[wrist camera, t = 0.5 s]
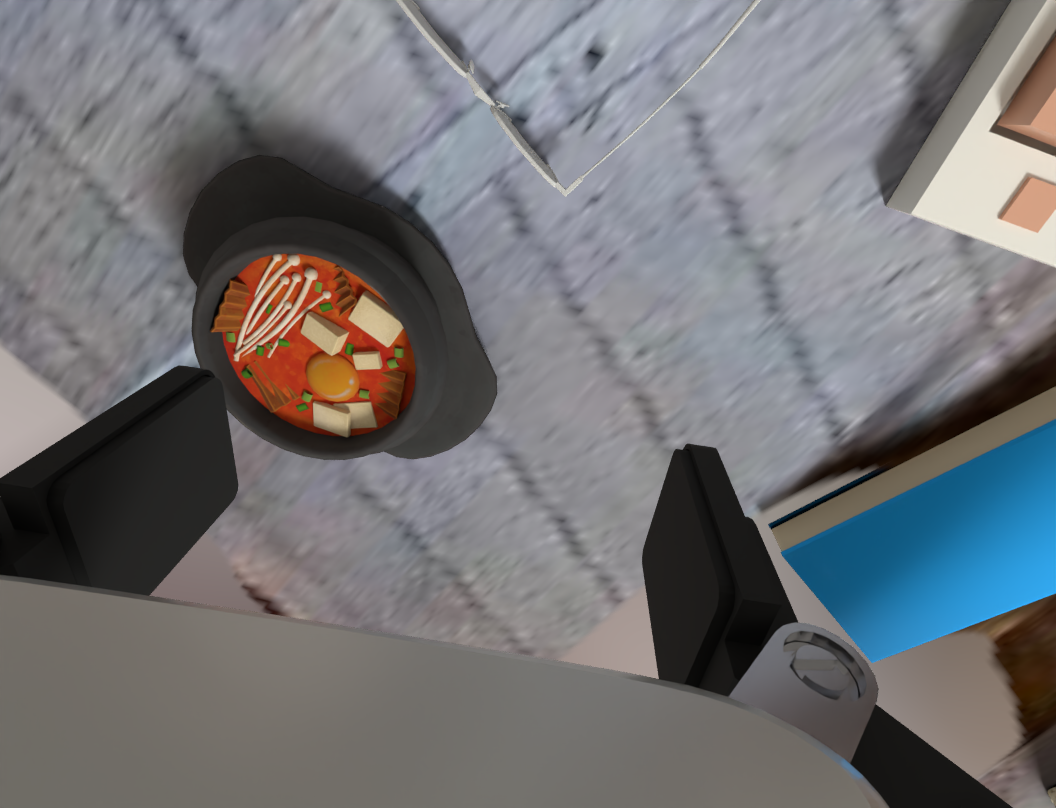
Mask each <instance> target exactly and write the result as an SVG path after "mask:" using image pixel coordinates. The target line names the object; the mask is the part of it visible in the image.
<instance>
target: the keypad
mask: <svg viewBox="0 0 1056 808" xmlns="http://www.w3.org/2000/svg"><path fill="white" fill-rule="evenodd" d="M1055 36H1056V0H1011V2H1010V3H1009V5H1008V6H1007V8H1006V10H1005V11H1004V13H1003V15H1002V16H1001V18H1000V20H999V21H998V23H997V24H996V26H995V28H994V29H993V31H992V33H991V34H990V36H989V38H988V39H987V41H986V42H985V44H984V46H983V47H982V49H981V51H980V52H979V54H978V56H977V57H976V59H975V61H974V62H973V64H972V65H971V67H970V69H969V70H968V72H967V74H966V75H965V77H964V79H963V80H962V82H961V83H960V85H959V87H958V88H957V90H956V92H955V93H954V95H953V97H952V98H951V100H950V101H949V103H948V105H947V106H946V108H945V110H944V111H943V113H942V115H941V116H940V118H939V120H938V121H937V123H936V124H935V126H934V128H933V129H932V131H931V133H930V134H929V136H928V138H927V139H926V141H925V142H924V144H923V146H922V147H921V149H920V151H919V152H918V154H917V156H916V157H915V159H914V160H913V162H912V164H911V165H910V167H909V169H908V170H907V172H906V174H905V175H904V177H903V179H902V180H901V182H900V183H899V185H898V187H897V188H896V190H895V192H894V193H893V195H892V197H891V198H890V200H889V201H888V203H887V205H886V207H889V208H891V209H894V210H897V211H900V212H903V213H905V214H908V215H911V216H914V217H916V218H919V219H922V220H925V221H927V222H930V223H933V224H936V225H938V226H941V227H944V228H947V229H949V230H952V231H955V232H958V233H961V234H963V235H966V236H969V237H972V238H974V239H977V240H980V241H983V242H985V243H988V244H991V245H994V246H996V247H999V248H1002V249H1005V250H1007V251H1010V252H1013V253H1016V254H1019V255H1021V256H1024V257H1027V258H1030V259H1032V260H1035V261H1038V262H1041V263H1043V264H1046V265H1049V266H1052V267H1054V268H1056V147H1055V146H1052V145H1049V144H1047V143H1044V142H1042V141H1039V140H1036V139H1034V138H1031V137H1029V136H1026V135H1023V134H1021V133H1018V132H1015V131H1013V130H1010V129H1008V128H1005V127H1002V126H1000V125H997V124H998V122H999V120H1000V119H1001V117H1002V116H1003V114H1004V113H1005V111H1006V110H1007V108H1008V107H1009V105H1010V104H1011V102H1012V101H1013V99H1014V98H1015V96H1016V95H1017V93H1018V92H1019V90H1020V89H1021V87H1022V86H1023V84H1024V83H1025V81H1026V80H1027V78H1028V77H1029V75H1030V74H1031V72H1032V71H1033V69H1034V67H1035V66H1036V64H1037V63H1038V61H1039V60H1040V58H1041V57H1042V55H1043V54H1044V52H1045V51H1046V49H1047V48H1048V46H1049V45H1050V43H1051V42H1052V40H1053V39H1054V37H1055Z"/></svg>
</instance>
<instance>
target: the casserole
mask: <svg viewBox="0 0 1056 808" xmlns="http://www.w3.org/2000/svg"><path fill="white" fill-rule="evenodd" d="M183 256H184V260H185V264H186V267H187V270H188V273H189V275H190V277H191V278H192V280H193V281H194V282H195V284H196V285H197V287H198V288H197V291H196V301H195V305H194V308H193V315H192V337H193V343H194V349H195V354H196V357H197V359H198V362H199V365H200V368H201V369H207V370H210V371H212V372H213V374H214V375H215V378H218V379H220V381H221V382H222V385H223V390H224V396H225V403H226V409H227V410H228V411H229V412H230V413H231V414H232V415H233V416H234V417H235V418H236V419H237V420H238V421H239V422H240V423H242V424H243V425H244V426H245V427H246V428H248V429H249V430H251V431H252V432H253V433H255V434H256V435H258V436H259V437H261V438H262V439H264V440H266V441H268V442H270V443H272V444H274V445H276V446H278V447H280V448H282V449H284V450H287V451H290V452H293V453H296V454H299V455H302V456H306V457H312V458H317V459H323V460H346V459H352V458H358V457H364V456H366V455H369V454H375V453H380V452H383V451H384V452H386V453H389V454H391V455H393V456H396V457H400V458H407V459H418V458H425V457H431V456H434V455H436V454H439V453H442V452H444V451H447V450H449V449H451V448H453V447H454V446H456V445H458V444H459V443H461V442H463V441H464V440H466V439H467V438H468V437H469V436H470V435H471V434H472V433H473V432H474V431H475V430H476V429H477V428H478V427H479V426H480V425H481V424H482V423H483V421H484V420H485V418H486V417H487V415H488V414H489V412H490V411H491V409H492V406H493V404H494V401H495V398H496V395H497V376H496V374H495V372H494V370H493V368H492V366H491V363H490V361H489V359H488V357H487V355H486V353H485V351H484V350H483V348H482V346H481V344H480V342H479V340H478V338H477V336H476V333H475V330H474V326H473V323H472V319H471V316H470V313H469V309H468V306H467V302H466V299H465V296H464V292H463V289H462V287H461V285H460V283H459V281H458V279H457V277H456V275H455V273H454V272H453V270H452V268H451V266H450V264H449V263H448V262H447V260H446V259H445V258H444V256H443V255H442V254H441V253H440V251H439V250H438V249H437V247H436V246H435V245H434V244H433V242H432V241H431V240H429V239H428V238H427V237H426V236H425V235H424V234H423V233H422V232H421V231H419V230H418V229H417V228H416V227H415V226H414V225H413V224H412V223H410V222H409V221H407V220H406V219H404V218H402V217H401V216H399V215H397V214H396V213H394V212H393V211H391V210H389V209H388V208H386V207H384V206H381V205H378V204H376V203H373V202H370V201H368V200H365V199H362V198H360V197H357V196H354V195H352V194H349V193H346V192H343V191H341V190H338V189H335V188H333V187H331V186H329V185H327V184H326V183H324V182H322V181H320V180H319V179H317V178H315V177H314V176H312V175H310V174H308V173H307V172H305V171H303V170H302V169H300V168H298V167H296V166H295V165H293V164H291V163H289V162H288V161H286V160H284V159H283V158H278V157H270V156H262V155H258V156H254V157H251V158H247V159H244V160H240V161H238V162H236V163H234V164H233V165H231V166H229V167H228V168H226V169H225V170H223V171H221V172H220V173H218V174H217V175H216V176H215V177H214V178H213V179H212V180H211V181H210V182H209V184H208V185H207V186H206V187H205V188H204V189H203V190H202V191H201V193H200V194H199V196H198V198H197V200H196V202H195V203H194V205H193V207H192V209H191V211H190V213H189V217H188V220H187V224H186V228H185V231H184V242H183Z"/></svg>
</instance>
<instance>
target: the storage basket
mask: <svg viewBox="0 0 1056 808" xmlns="http://www.w3.org/2000/svg"><path fill="white" fill-rule="evenodd" d="M1048 795H1049V796H1050V798H1051V801H1052V802H1053V803H1054V805H1055V807H1056V787H1053V788H1051V789H1049V790H1048Z"/></svg>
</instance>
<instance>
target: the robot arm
mask: <svg viewBox="0 0 1056 808" xmlns="http://www.w3.org/2000/svg"><path fill="white" fill-rule="evenodd" d="M237 491H238V479H237V473H236V466H235V460H234V454H233V447H232V441H231V435H230V428H229V422H228V416H227V409H226V403H225V396H224V390H223V385H222V382H221V381H220V379H218V378H215V375H214V374H213V372H212V371H210V370H207V369H201V368H194V367H188V366H177V367H174V368H173V369H171V370H170V371H168V372H166V373H165V374H163V375H162V376H160V377H159V378H157V379H155V380H154V381H152V382H151V383H149V384H148V385H146V386H144V387H143V388H141V389H140V390H138V391H137V392H135V393H133V394H132V395H130V396H129V397H127V398H126V399H124V400H122V401H121V402H119V403H118V404H116V405H115V406H113V407H111V408H110V409H108V410H107V411H105V412H104V413H102V414H100V415H99V416H97V417H96V418H94V419H93V420H91V421H89V422H88V423H86V424H85V425H83V426H82V427H80V428H78V429H77V430H75V431H74V432H72V433H71V434H69V435H67V436H66V437H64V438H63V439H61V440H60V441H58V442H56V443H55V444H53V445H52V446H50V447H49V448H47V449H45V450H44V451H42V452H41V453H39V454H38V455H36V456H35V457H33V458H31V459H30V460H28V461H27V462H25V463H24V464H22V465H20V466H19V467H17V468H16V469H14V470H12V471H11V472H9V473H8V474H6V475H5V476H3V477H2V478H0V808H1013V807H1011V806H1010V805H1009V804H1007V803H1006V802H1005V801H1003V800H1002V799H1001V798H999V797H998V796H997V795H995V794H994V793H993V792H991V791H990V790H989V789H987V788H986V787H985V786H983V785H982V784H981V783H979V782H978V781H977V780H975V779H974V778H973V777H971V776H970V775H969V774H967V773H966V772H965V771H963V770H962V769H961V768H960V767H958V766H957V765H956V764H954V763H953V762H952V761H950V760H949V759H948V758H946V757H945V756H944V755H942V754H941V753H940V752H938V751H937V750H935V749H934V748H933V747H931V746H930V745H929V744H928V743H926V742H925V741H924V740H922V739H921V738H920V737H918V736H917V735H916V734H914V733H913V732H912V731H910V730H909V729H908V728H907V727H905V726H904V725H902V724H901V723H900V722H899V721H897V720H896V719H894V718H893V717H892V716H890V715H889V714H888V713H887V712H885V711H884V710H883V709H881V708H880V707H879V706H877V705H876V702H877V697H878V690H879V689H878V685H877V682H876V678H875V675H874V673H873V672H872V670H871V668H870V667H869V665H868V663H867V662H866V661H865V660H864V659H863V657H862V656H861V655H860V654H859V653H858V652H857V651H856V650H855V649H854V648H853V647H852V646H851V645H849V644H848V643H847V642H845V641H844V640H843V639H841V638H840V637H839V636H837V635H835V634H833V633H831V632H829V631H827V630H826V629H823V628H820V627H817V626H814V625H811V624H806V623H798V620H797V618H796V616H795V614H794V611H793V609H792V607H791V604H790V602H789V600H788V597H787V595H786V593H785V590H784V588H783V586H782V584H781V581H780V579H779V577H778V574H777V572H776V570H775V568H774V565H773V563H772V561H771V558H770V556H769V554H768V551H767V549H766V547H765V545H764V542H763V540H762V538H761V535H760V533H759V531H758V528H757V526H756V524H755V523H754V521H753V520H752V519H751V518H749V517H745V516H744V513H743V511H742V508H741V506H740V504H739V501H738V499H737V496H736V494H735V491H734V489H733V487H732V484H731V482H730V479H729V477H728V475H727V472H726V470H725V467H724V465H723V463H722V460H721V458H720V455H719V453H718V451H717V449H716V448H713V447H706V446H700V445H693V444H686V445H685V447H684V449H683V450H680V449H676V450H675V451H674V453H673V456H672V459H671V462H670V465H669V468H668V471H667V475H666V478H665V481H664V484H663V487H662V490H661V494H660V497H659V500H658V503H657V506H656V510H655V513H654V516H653V519H652V522H651V525H650V529H649V532H648V535H647V538H646V541H645V545H644V548H643V555H642V566H643V573H644V580H645V587H646V593H647V600H648V606H649V614H650V621H651V628H652V635H653V642H654V649H655V655H656V662H657V668H658V676H659V679H655V678H651V677H646V676H641V675H636V674H631V673H625V672H620V671H615V670H609V669H604V668H597V667H592V666H586V665H580V664H575V663H569V662H564V661H558V660H553V659H547V658H540V657H534V656H528V655H522V654H516V653H510V652H504V651H497V650H491V649H485V648H479V647H473V646H467V645H461V644H455V643H448V642H442V641H436V640H430V639H424V638H418V637H412V636H405V635H399V634H393V633H386V632H380V631H374V630H367V629H361V628H355V627H348V626H342V625H336V624H329V623H323V622H317V621H310V620H304V619H297V618H291V617H285V616H278V615H272V614H265V613H259V612H253V611H246V610H240V609H233V608H227V607H220V606H213V605H207V604H200V603H193V602H187V601H180V600H174V599H166V598H160V597H154V596H149V595H150V594H151V593H152V592H153V591H154V590H155V588H156V587H157V586H158V585H159V584H160V583H161V582H162V581H163V579H164V578H165V577H166V576H167V575H168V574H169V573H170V572H171V570H172V569H173V568H174V567H175V566H176V565H177V564H178V563H179V561H180V560H181V559H182V558H183V557H184V556H185V555H186V553H187V552H188V551H189V550H190V549H191V548H192V547H193V545H194V544H195V543H196V542H197V541H198V540H199V539H200V537H201V536H202V535H203V534H204V533H205V532H206V531H207V530H208V529H209V527H210V526H211V525H212V524H213V523H214V522H215V521H216V519H217V518H218V517H219V516H220V515H221V514H222V513H223V512H224V510H225V509H226V508H227V507H228V506H229V505H230V504H231V502H232V501H233V500H234V498H235V496H236V494H237Z"/></svg>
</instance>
